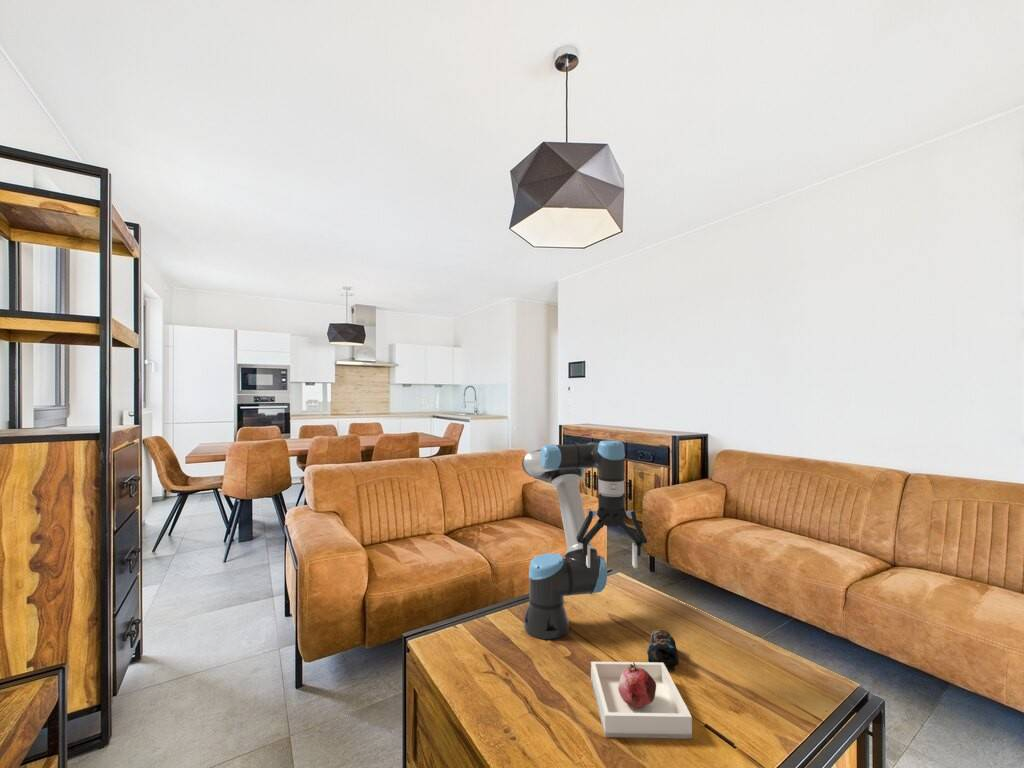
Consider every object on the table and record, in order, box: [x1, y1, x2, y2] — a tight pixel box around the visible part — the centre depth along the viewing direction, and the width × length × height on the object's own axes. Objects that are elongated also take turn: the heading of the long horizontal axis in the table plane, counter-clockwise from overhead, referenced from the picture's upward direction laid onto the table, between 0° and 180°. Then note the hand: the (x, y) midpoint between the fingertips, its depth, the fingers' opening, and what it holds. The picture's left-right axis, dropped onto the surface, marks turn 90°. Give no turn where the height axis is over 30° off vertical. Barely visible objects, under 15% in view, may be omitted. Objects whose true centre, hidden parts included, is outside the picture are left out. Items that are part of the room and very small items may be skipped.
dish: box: [590, 661, 693, 740], centre depth 111 cm, size 20×20×5 cm
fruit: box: [618, 661, 656, 708], centre depth 111 cm, size 9×10×10 cm
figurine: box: [646, 628, 680, 671], centre depth 131 cm, size 9×8×15 cm
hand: (611, 566), depth 128 cm, fingers open, 13 cm apart
